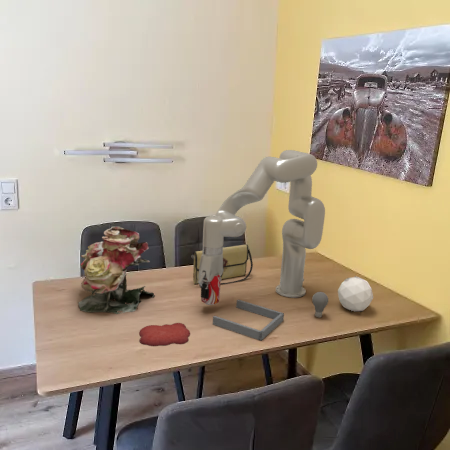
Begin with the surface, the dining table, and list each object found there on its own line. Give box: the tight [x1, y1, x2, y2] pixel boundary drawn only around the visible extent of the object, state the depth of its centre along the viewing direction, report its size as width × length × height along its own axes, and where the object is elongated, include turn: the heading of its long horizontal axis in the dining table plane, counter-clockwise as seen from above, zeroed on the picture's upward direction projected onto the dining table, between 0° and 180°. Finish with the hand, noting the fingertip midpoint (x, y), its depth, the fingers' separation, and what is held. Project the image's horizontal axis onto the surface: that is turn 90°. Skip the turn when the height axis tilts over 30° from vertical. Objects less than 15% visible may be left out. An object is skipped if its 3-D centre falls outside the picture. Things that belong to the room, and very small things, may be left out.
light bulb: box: [311, 291, 329, 318], centre depth 175 cm, size 6×6×10 cm
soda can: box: [200, 274, 222, 306], centre depth 175 cm, size 7×7×12 cm
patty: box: [138, 322, 191, 347], centre depth 158 cm, size 18×14×2 cm
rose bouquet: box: [78, 226, 156, 315], centre depth 177 cm, size 26×29×30 cm
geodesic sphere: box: [337, 275, 374, 312], centre depth 183 cm, size 14×14×14 cm
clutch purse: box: [191, 244, 254, 286], centre depth 204 cm, size 30×7×15 cm, turn 120°
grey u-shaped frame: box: [212, 299, 285, 341], centre depth 169 cm, size 18×20×3 cm
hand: (210, 294), depth 176 cm, fingers closed on soda can, 7 cm apart
